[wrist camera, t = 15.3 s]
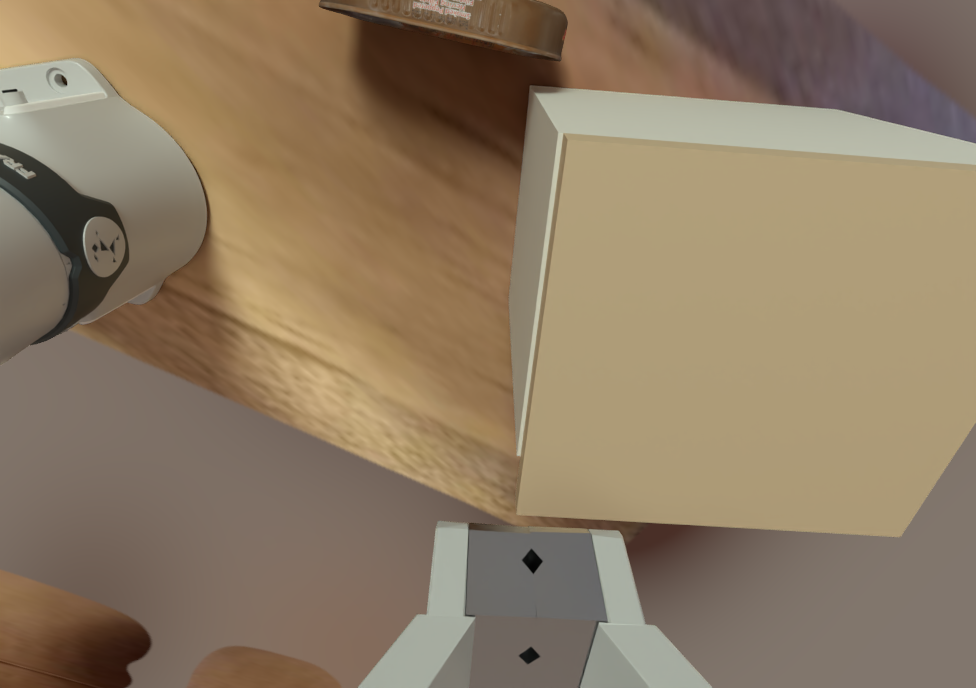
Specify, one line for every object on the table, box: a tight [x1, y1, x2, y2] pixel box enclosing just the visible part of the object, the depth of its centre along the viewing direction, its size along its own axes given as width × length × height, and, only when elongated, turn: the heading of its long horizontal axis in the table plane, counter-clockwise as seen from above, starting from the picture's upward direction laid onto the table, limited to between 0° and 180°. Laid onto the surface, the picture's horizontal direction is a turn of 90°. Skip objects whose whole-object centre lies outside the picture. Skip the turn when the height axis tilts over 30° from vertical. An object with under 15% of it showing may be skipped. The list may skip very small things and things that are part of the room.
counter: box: [509, 85, 976, 537], centre depth 35 cm, size 22×20×22 cm
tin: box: [319, 0, 568, 61], centre depth 33 cm, size 15×3×8 cm, turn 79°
